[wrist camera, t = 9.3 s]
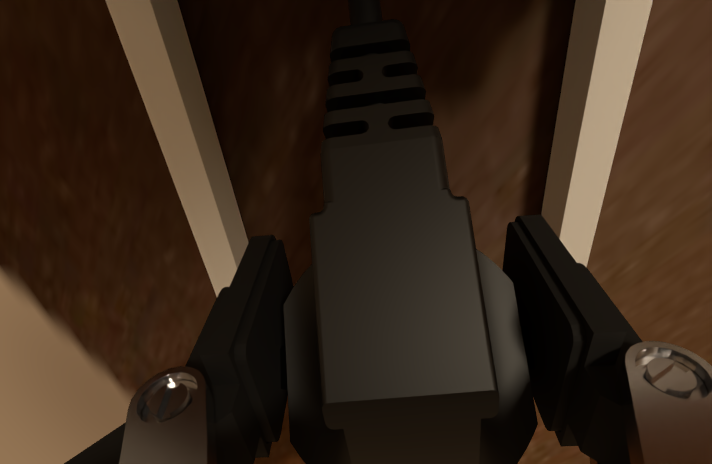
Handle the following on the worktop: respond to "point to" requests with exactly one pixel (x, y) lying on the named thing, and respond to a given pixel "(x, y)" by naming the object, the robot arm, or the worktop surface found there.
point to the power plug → (398, 285)
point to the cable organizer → (211, 179)
